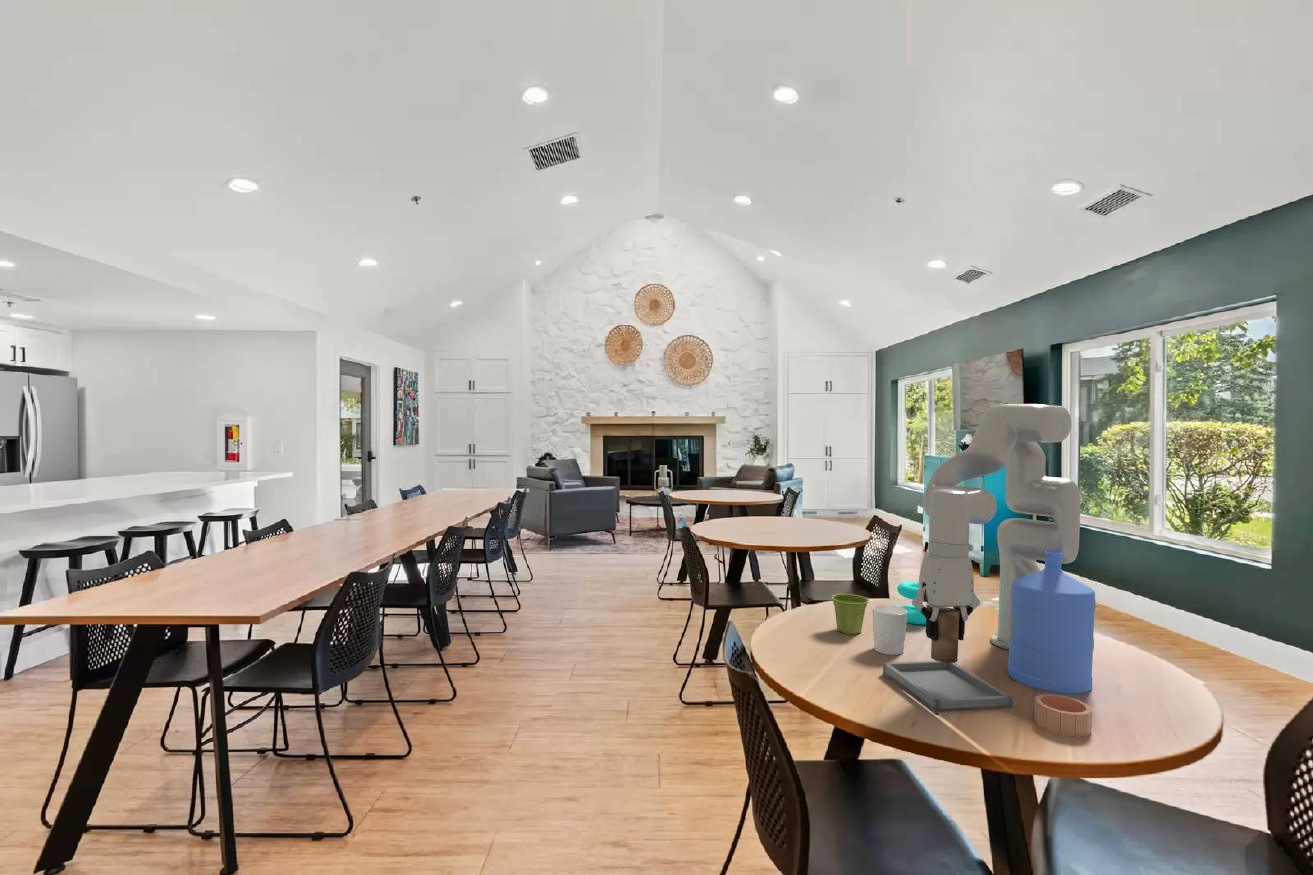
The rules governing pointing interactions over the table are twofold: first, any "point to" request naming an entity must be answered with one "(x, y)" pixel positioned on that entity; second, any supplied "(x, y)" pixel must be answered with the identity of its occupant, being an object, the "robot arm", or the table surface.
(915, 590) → the donuts
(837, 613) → the plant pot
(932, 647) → the walnut cylinder
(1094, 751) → the table surface
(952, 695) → the slate tray
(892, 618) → the white cup
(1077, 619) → the water jug
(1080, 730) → the terracotta cup
